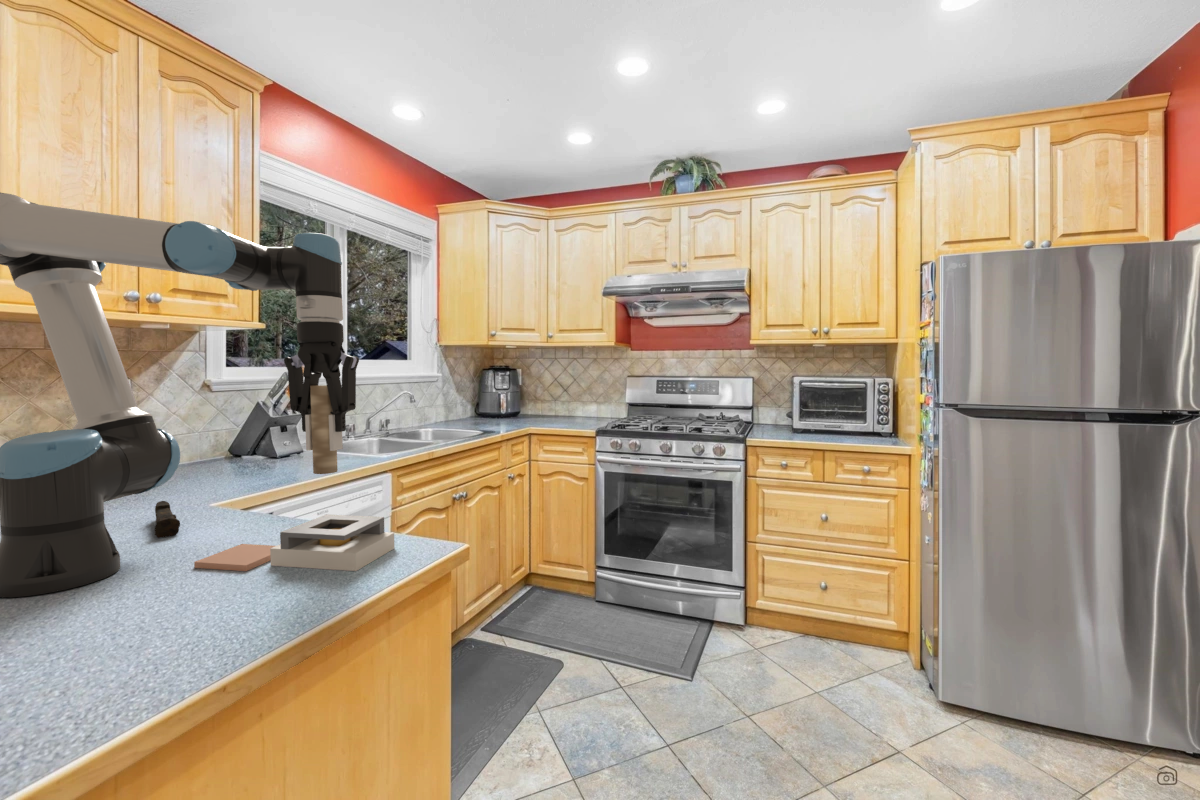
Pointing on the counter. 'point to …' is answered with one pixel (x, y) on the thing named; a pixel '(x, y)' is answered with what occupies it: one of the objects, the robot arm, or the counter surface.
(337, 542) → the button
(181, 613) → the counter surface
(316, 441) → the wooden cylinder
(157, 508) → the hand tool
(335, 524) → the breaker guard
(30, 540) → the robot arm
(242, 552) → the rest tile
